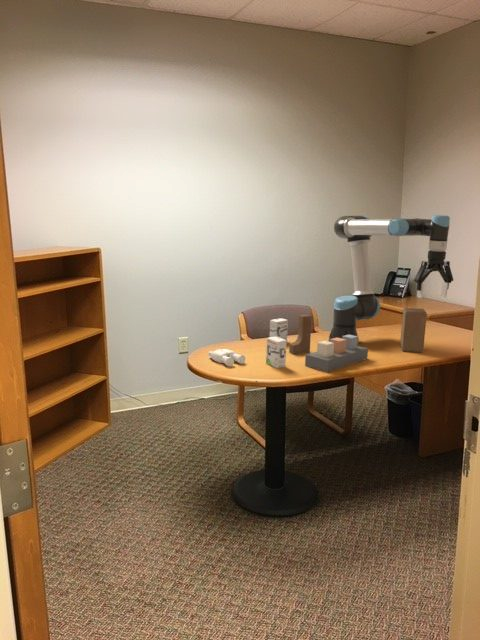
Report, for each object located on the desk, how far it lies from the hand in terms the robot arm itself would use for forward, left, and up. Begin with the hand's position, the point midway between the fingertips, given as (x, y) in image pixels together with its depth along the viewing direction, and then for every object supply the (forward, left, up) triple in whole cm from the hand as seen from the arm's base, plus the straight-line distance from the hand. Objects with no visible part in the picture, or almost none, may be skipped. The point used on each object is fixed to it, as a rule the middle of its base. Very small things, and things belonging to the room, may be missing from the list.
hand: (431, 297), depth 233 cm
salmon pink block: (-22, -40, -25) cm, 52 cm away
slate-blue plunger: (-22, -31, -25) cm, 45 cm away
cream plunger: (-22, -49, -25) cm, 59 cm away
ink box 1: (-63, -34, -29) cm, 77 cm away
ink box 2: (-37, -64, -29) cm, 79 cm away
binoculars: (-56, -76, -29) cm, 99 cm away
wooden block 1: (-43, -41, -29) cm, 66 cm away
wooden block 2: (-11, +6, -29) cm, 31 cm away
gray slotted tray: (-22, -40, -28) cm, 53 cm away
